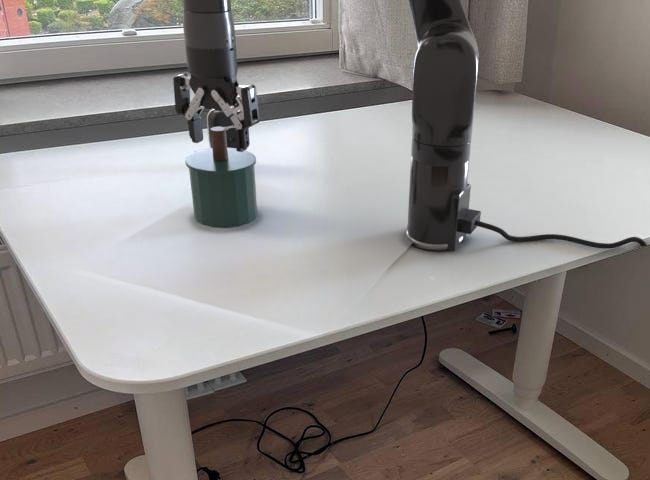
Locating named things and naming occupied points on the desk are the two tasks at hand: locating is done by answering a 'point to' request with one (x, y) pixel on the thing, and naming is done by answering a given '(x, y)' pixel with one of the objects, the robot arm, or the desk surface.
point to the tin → (224, 198)
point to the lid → (220, 156)
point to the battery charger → (221, 120)
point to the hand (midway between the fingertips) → (220, 146)
